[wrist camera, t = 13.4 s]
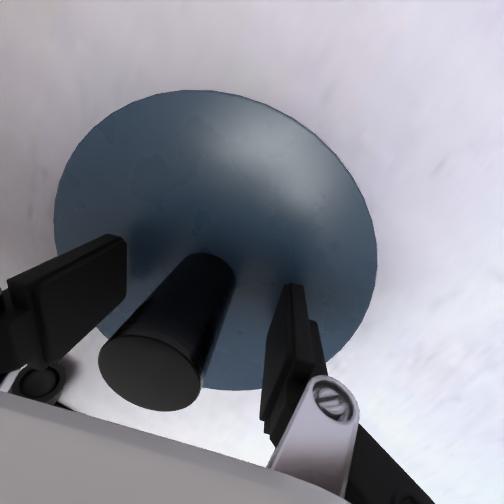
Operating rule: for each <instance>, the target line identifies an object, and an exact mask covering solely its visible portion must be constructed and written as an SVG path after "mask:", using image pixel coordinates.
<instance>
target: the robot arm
mask: <svg viewBox="0 0 504 504" xmlns="http://www.w3.org/2000/svg"><path fill="white" fill-rule="evenodd" d="M7 284H8V288H7V289H5V290H3V291H2V290H1V288H0V504H435V503H434V502H433V501H432V500H431V498H430V497H429V496H428V495H427V494H426V493H425V492H424V491H423V490H422V489H421V488H420V487H419V486H418V485H417V484H416V483H415V482H414V480H413V479H412V478H411V477H410V476H409V475H408V474H407V473H406V472H405V471H404V470H403V469H402V468H401V467H400V466H399V465H398V464H397V463H396V462H395V461H394V460H393V458H392V457H391V456H390V455H389V454H388V453H387V452H386V451H385V450H384V449H383V448H382V447H381V446H380V445H379V444H378V443H377V442H376V441H375V440H374V439H373V438H372V436H371V435H370V434H369V433H368V432H367V431H366V430H365V429H364V428H363V427H362V426H361V425H360V424H359V407H358V404H357V401H356V399H355V398H354V396H353V394H352V393H351V392H350V391H349V390H348V388H347V387H346V386H345V385H343V384H342V383H341V382H340V381H338V380H336V379H334V378H332V377H329V376H328V373H327V368H326V363H325V358H324V353H323V348H322V343H321V338H320V333H319V328H318V324H317V322H316V321H314V320H310V319H309V317H308V311H307V304H306V298H305V291H304V286H303V285H299V284H295V283H291V282H290V284H289V285H286V284H285V285H284V287H283V290H282V292H281V295H280V298H279V301H278V304H277V307H276V310H275V313H274V316H273V319H272V321H271V324H270V327H269V330H268V334H267V338H266V348H265V359H264V370H263V382H262V393H261V404H260V416H259V418H260V420H262V421H265V422H264V433H266V434H269V435H270V440H271V442H272V443H273V445H274V446H275V450H274V452H273V454H272V456H271V458H270V461H269V463H268V465H267V467H266V468H265V467H262V466H258V465H255V464H252V463H249V462H246V461H242V460H239V459H236V458H233V457H229V456H226V455H223V454H220V453H216V452H213V451H209V450H206V449H202V448H199V447H196V446H192V445H189V444H185V443H182V442H178V441H175V440H171V439H168V438H164V437H161V436H158V435H154V434H151V433H147V432H144V431H140V430H137V429H133V428H130V427H126V426H123V425H119V424H116V423H112V422H109V421H105V420H102V419H98V418H95V417H91V416H88V415H84V414H81V413H77V412H74V411H70V410H67V409H63V408H59V407H56V406H52V405H49V404H45V403H42V402H38V401H35V400H31V399H28V398H24V397H20V396H17V395H13V394H10V393H7V392H8V391H9V389H10V387H11V385H12V384H13V382H14V380H15V378H16V377H17V375H18V373H19V371H20V368H21V367H23V366H24V365H25V364H26V363H27V366H28V367H30V368H34V369H37V370H41V371H44V370H45V369H46V368H47V367H48V366H49V365H50V364H52V363H53V362H57V361H59V360H60V359H61V358H62V357H63V356H64V355H66V354H67V353H68V352H69V351H70V350H71V349H72V348H73V347H74V346H75V345H76V344H77V343H78V342H80V341H81V340H82V339H83V338H84V337H85V336H86V335H87V334H88V333H89V332H90V331H91V330H92V329H93V328H95V327H96V326H97V325H98V324H99V323H100V322H101V321H102V320H103V319H104V318H105V317H106V316H107V315H108V314H110V313H111V312H112V311H113V310H114V309H115V308H116V307H117V306H118V305H119V304H120V303H121V302H122V301H123V300H124V299H125V297H126V293H127V243H126V242H125V241H124V239H123V238H122V237H120V236H116V235H112V234H105V235H103V236H100V237H98V238H96V239H94V240H92V241H90V242H87V243H85V244H83V245H81V246H79V247H77V248H74V249H72V250H70V251H68V252H66V253H64V254H62V255H59V256H57V257H55V258H53V259H51V260H49V261H46V262H44V263H42V264H40V265H38V266H36V267H34V268H31V269H29V270H27V271H25V272H23V273H21V274H18V275H16V276H14V277H12V278H10V279H8V280H7Z"/></svg>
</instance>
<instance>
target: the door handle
mask: <svg viewBox="0 0 504 504" xmlns="http://www.w3.org/2000/svg"><path fill="white" fill-rule="evenodd" d="M65 381H66V373H65V371H64V369H63V367H62V366H60V365H59V364H57V363H55V362H53V363H52V364H50V365H49V366H48V367H47V368H46V369H45V370H44V371H41V370H37V369H34V368H30V367H28V366H26V367H25V368H23V369H22V370H21V371H20V372H19V373H18V375H17V377H16V378H15V380H14V382H13V384H12V385H11V387H10V389H9V391H8V392H7V393H10V394H13V395H17V396H20V397H24V398H28V399H31V400H35V401H38V402H42V403H45V404H49V405H52V406H56V407H59V408H63V407H61V406H59V405H57V404H55V402H56V401H57V400H58V398H59V397H60V395H61V393H62V390H63V386H64V384H65ZM63 409H65V408H63Z"/></svg>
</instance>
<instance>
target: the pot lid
mask: <svg viewBox="0 0 504 504" xmlns="http://www.w3.org/2000/svg"><path fill="white" fill-rule="evenodd" d="M53 222H54V237H55V244H56V249H57V254H58V256H59V255H62V254H64V253H66V252H68V251H70V250H72V249H74V248H77V247H79V246H81V245H83V244H85V243H87V242H90V241H92V240H94V239H96V238H98V237H100V236H103V235H105V234H112V235H116V236H120V237H122V238H123V239H124V241H125V242H126V243H127V293H126V297H125V299H124V300H123V301H122V302H121V303H120V304H119V305H118V306H117V307H116V308H115V309H114V310H113V311H112V312H111V313H110V314H108V315H107V316H106V317H105V318H104V319H103V320H102V321H101V322H100V323H99V324H98V325H97V326H96V327H97V328H98V329H99V330H100V332H101V333H102V334H103V335H104V336H105V337H107V338H108V339H109V340H108V341H107V342H106V343H105V344H104V345H103V347H102V348H101V350H100V353H99V357H98V365H99V369H100V372H101V374H102V377H103V378H104V380H105V381H106V383H107V384H108V385H109V386H110V387H111V388H112V389H113V390H114V391H115V392H116V393H117V394H118V395H120V396H121V397H122V398H124V399H126V400H127V401H129V402H131V403H133V404H135V405H137V406H140V407H143V408H146V409H150V410H155V411H176V410H180V409H183V408H186V407H187V406H189V405H190V404H192V403H193V402H194V401H195V400H196V398H197V397H198V395H199V393H200V390H201V388H202V387H203V388H210V389H217V390H232V391H240V390H255V389H262V382H263V370H264V359H265V348H266V338H267V334H268V330H269V327H270V324H271V321H272V319H273V316H274V313H275V310H276V307H277V304H278V301H279V298H280V295H281V292H282V290H283V287H284V285H285V284H286V285H289V284H290V282H291V283H295V284H299V285H303V286H304V291H305V298H306V304H307V311H308V317H309V319H310V320H314V321H316V322H317V324H318V328H319V333H320V338H321V343H322V348H323V353H324V358H325V363H326V362H327V361H328V360H330V359H331V358H332V357H333V356H334V355H335V354H336V353H338V352H339V351H340V350H341V349H342V348H343V346H344V345H345V344H346V343H347V342H348V341H349V340H350V338H351V337H352V336H353V334H354V333H355V331H356V330H357V328H358V327H359V325H360V324H361V322H362V320H363V318H364V316H365V313H366V311H367V309H368V307H369V304H370V301H371V297H372V294H373V290H374V287H375V279H376V271H377V244H376V238H375V233H374V228H373V223H372V219H371V216H370V214H369V211H368V208H367V205H366V202H365V200H364V197H363V195H362V194H361V192H360V190H359V188H358V186H357V184H356V183H355V181H354V179H353V177H352V175H351V174H350V173H349V171H348V170H347V169H346V167H345V166H344V165H343V163H342V162H341V161H340V159H339V158H338V157H337V155H336V154H335V153H334V152H333V151H332V150H331V149H330V148H329V147H328V146H327V145H326V144H325V143H324V142H323V141H322V140H320V139H319V138H318V137H317V136H316V135H315V134H314V133H313V132H311V131H310V130H308V129H307V128H306V127H304V126H303V125H301V124H300V123H299V122H297V121H296V120H295V119H293V118H292V117H290V116H288V115H286V114H284V113H282V112H280V111H278V110H276V109H274V108H272V107H270V106H268V105H266V104H263V103H260V102H257V101H254V100H251V99H249V98H246V97H243V96H240V95H234V94H229V93H223V92H217V91H211V90H181V91H174V92H168V93H161V94H156V95H153V96H150V97H147V98H144V99H141V100H138V101H135V102H132V103H130V104H128V105H127V106H125V107H123V108H121V109H119V110H117V111H115V112H113V113H112V114H110V115H109V116H108V117H106V118H105V119H104V120H103V121H101V122H100V123H99V124H98V125H96V126H95V127H94V128H93V129H92V130H91V131H90V132H89V133H88V134H87V135H86V136H85V138H84V139H83V140H82V141H81V142H80V143H79V144H78V146H77V147H76V149H75V151H74V152H73V154H72V156H71V157H70V159H69V160H68V162H67V164H66V167H65V169H64V172H63V174H62V176H61V179H60V181H59V185H58V190H57V194H56V198H55V206H54V219H53Z"/></svg>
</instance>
